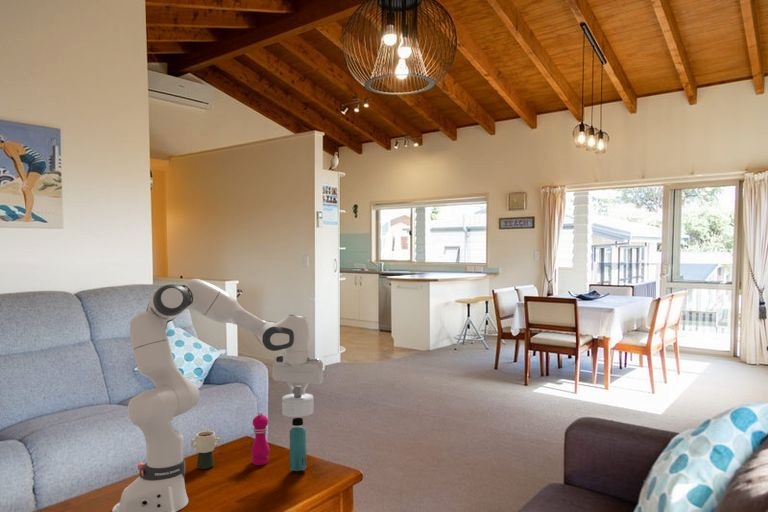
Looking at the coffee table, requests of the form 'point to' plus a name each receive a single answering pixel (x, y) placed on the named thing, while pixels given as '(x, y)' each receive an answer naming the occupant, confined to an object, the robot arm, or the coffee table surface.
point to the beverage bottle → (297, 446)
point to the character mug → (205, 448)
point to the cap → (297, 404)
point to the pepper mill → (260, 440)
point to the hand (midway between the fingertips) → (297, 393)
